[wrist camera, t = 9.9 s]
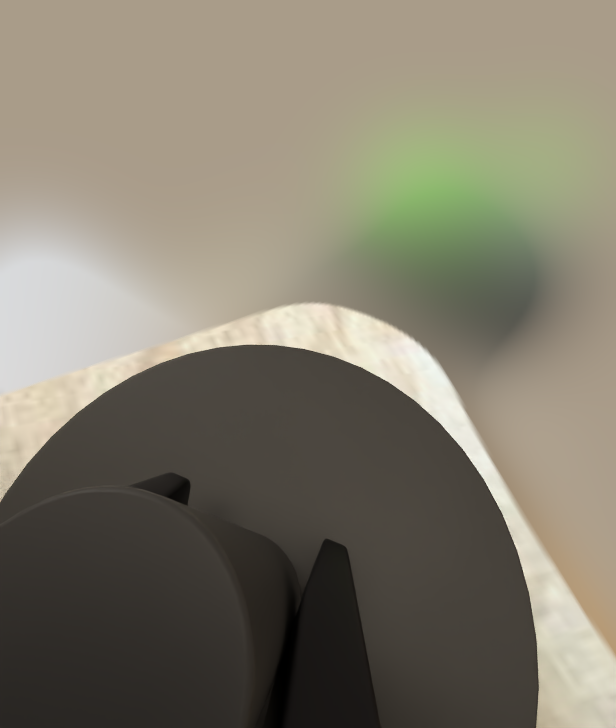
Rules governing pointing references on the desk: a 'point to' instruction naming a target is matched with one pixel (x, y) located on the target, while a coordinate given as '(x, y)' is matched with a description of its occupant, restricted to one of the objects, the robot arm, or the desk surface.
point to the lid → (254, 552)
